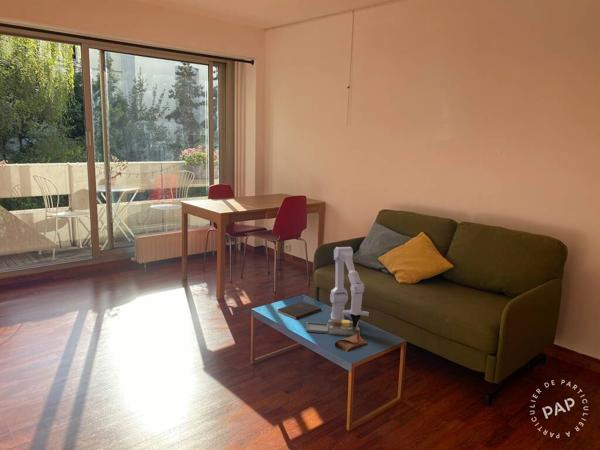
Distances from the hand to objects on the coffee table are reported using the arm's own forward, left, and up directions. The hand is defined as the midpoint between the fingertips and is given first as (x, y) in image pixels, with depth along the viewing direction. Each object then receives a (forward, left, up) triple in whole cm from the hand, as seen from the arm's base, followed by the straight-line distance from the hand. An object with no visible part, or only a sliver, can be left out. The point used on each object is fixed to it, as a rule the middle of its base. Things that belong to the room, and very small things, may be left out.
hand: (354, 327), depth 264 cm
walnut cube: (0, -10, -1) cm, 10 cm away
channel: (0, -6, -3) cm, 7 cm away
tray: (0, -21, -3) cm, 21 cm away
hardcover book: (-25, -32, -3) cm, 41 cm away
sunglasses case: (+18, -2, -3) cm, 19 cm away
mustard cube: (0, -5, -1) cm, 5 cm away
